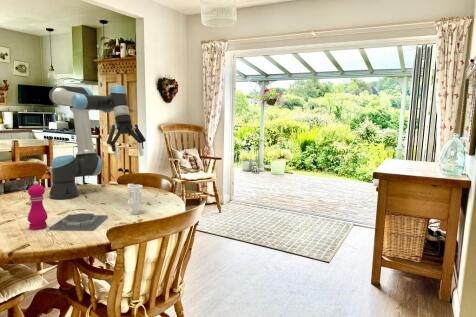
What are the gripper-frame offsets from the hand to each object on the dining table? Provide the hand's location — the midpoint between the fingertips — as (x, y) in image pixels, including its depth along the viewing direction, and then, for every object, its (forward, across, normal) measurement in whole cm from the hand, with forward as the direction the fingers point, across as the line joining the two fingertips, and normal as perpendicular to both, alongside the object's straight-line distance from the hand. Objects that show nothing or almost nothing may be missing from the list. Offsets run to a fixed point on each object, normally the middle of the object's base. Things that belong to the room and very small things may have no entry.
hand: (129, 156), depth 164 cm
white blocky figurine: (+28, -1, +2) cm, 29 cm away
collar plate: (+27, -27, +5) cm, 39 cm away
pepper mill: (+25, -42, +11) cm, 50 cm away
